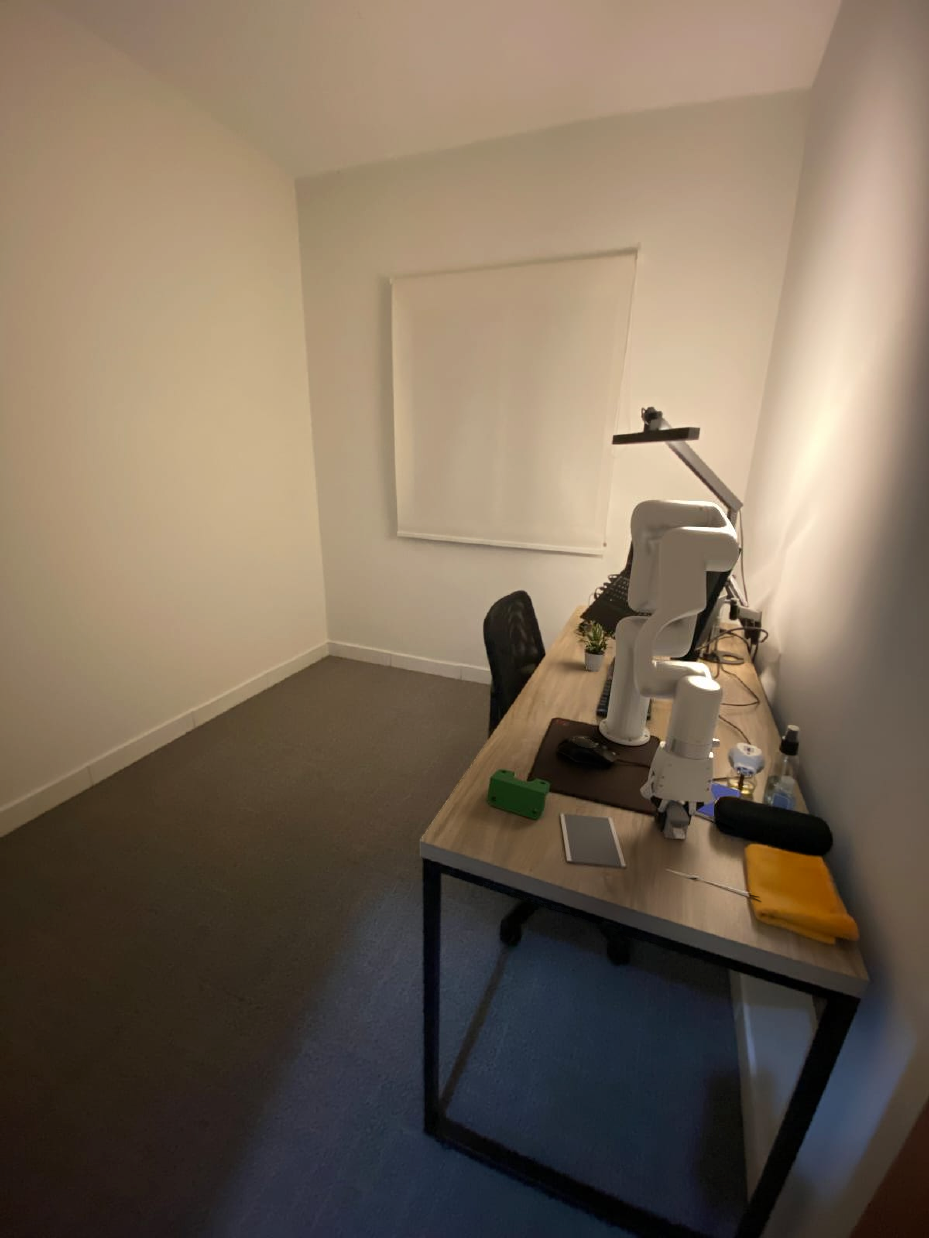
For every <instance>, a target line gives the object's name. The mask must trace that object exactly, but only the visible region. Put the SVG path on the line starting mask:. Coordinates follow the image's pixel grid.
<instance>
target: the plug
mask: <svg viewBox="0 0 929 1238" xmlns="http://www.w3.org/2000/svg"><path fill="white" fill-rule="evenodd" d="M682 804H683V803H682V802H681V801H680V800H669V802H668V804H667V807H666V812H667V817H666V822H665V827H664V829H663V830H662V832H663V835H664V837H665V839H673V840H685V841H686V837H687V833H688V828H689V826H688V824H689V817H688V815H687V813H686V811H685V809H684V807H683V805H682Z"/></svg>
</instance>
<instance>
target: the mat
mask: <svg viewBox="0 0 929 1238" xmlns="http://www.w3.org/2000/svg"><path fill="white" fill-rule="evenodd" d="M559 818H560V825H561V831H562V837H563V845H564V851H565V856H566V858H565V859H566V862H567V863H568V864H580V865H589V866H599V867H609V868H611V867H612V868H621V869H622V868H623V869H626V867H627V864H626V861H625V858H624V855H623V852H622V848H621V846H620V842H619V838H618V834H617V832H616V828H615V824H614V820H613V818H612V817H602V816H601V817H600V816H592V815H591V816H590V815H577V814H569V813H568V814H567V813H559Z"/></svg>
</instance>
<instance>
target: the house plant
mask: <svg viewBox="0 0 929 1238" xmlns="http://www.w3.org/2000/svg"><path fill="white" fill-rule="evenodd" d="M590 623H591V632H592V635H590V633H588V631H587V630H586V628H585V627H584V626H582V625H580V624H579V626H580V627H582V629H583V630H584V634H585V635H586V636H587V638H588V640H584V639H583V638H582V637H580V636H575V637H577V638H579V639H580V640H579V639H578V641H577V643H581V642H583V643H584V644H585V648H584V650H583V651H584V668H585V667H586V668H587V669H588V670H587V669H586V668H585V669H586V670H587V671H589V670H591V671H590V672H594V671H596V672H600V671H601V670H600V669H602V667H603V663H604V660H605V657H606V654H607V653H606V651H605V650H606V649H613V647H611V646H609V645H608V643H606V642H607V641H610V640H611V641H612V638H611V639H610V634H611V633H612V632H613V630H612V631H610V632H609V633H608V634H607V635H606V636H605V637H604V638H603V640H601V638H602V634H603V627H602V626H603V624H602V625H600V624H599V623H598V622H597V624H596V625H595V624H594V622H593V621H592V620H590ZM575 625H577V626H578V624H575ZM613 635H614V636H615V633H614V634H612V636H613ZM608 636H609V637H608ZM607 646H609V647H607ZM599 670H600V671H599Z"/></svg>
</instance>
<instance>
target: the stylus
mask: <svg viewBox="0 0 929 1238" xmlns="http://www.w3.org/2000/svg"><path fill="white" fill-rule="evenodd" d="M665 870H667V871H669V872H672V873H674V874H677V875H679V876H682V877H684V878H685V877H686V878H689V879H692V880H697V879H699V880H701V881H703V882H706V883H708V884H711V885H714V886H716V887H719V888H722V889H725V890H728V891H731V892H733V893H735V894H738V895H741V896H744V897H747V898H750V897H749V894H748V893H749V892H748V891H745V890H741V889H736V888H733V887H730V886H727V885H723V884H719V883H715V882H712V881H709V880H705V879H702V878H700V876H698V875H694V874H689V873H685V872H681V871H677V870H672V869H668V868H665Z"/></svg>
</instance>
